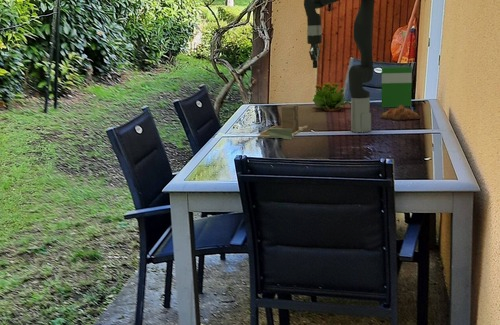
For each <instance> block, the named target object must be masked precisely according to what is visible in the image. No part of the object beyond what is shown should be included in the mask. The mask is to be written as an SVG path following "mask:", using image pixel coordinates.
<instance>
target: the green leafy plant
mask: <svg viewBox="0 0 500 325" xmlns="http://www.w3.org/2000/svg"><path fill="white" fill-rule="evenodd" d="M339 86H340V84H339V83H338V82H332V83H330V82H329V81H328V82H324V83H323V84H322V85H320V84H316V85H315V88H316V89H315V94H314V95H313V99H312V102H313V103H314V104H315V106H316V107H320V108H323V109H324V111H327V112H336V111H340V110H341V107H340V106H345V105H348V104H351V100H345V94H344V93H343V92H344V91H345V86H343V87H341V88H340V89H339ZM338 89H339V91H338ZM337 91H338V92H337Z"/></svg>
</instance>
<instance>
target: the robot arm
mask: <svg viewBox="0 0 500 325" xmlns="http://www.w3.org/2000/svg"><path fill="white" fill-rule="evenodd" d="M339 1H340V0H304V1H303V7H304V12H305V15H306V19H307V20H306V22H307V23H306V24H307V28H306V35H307V38H306V39H307V40H306V41H307V42H306V43H307V44H308V45H310V48H309V51H308V53H309V56H310V60H311V61H312V69H318V68H319V67H318V65H319V64H318V60H319V59H320V54H321V48H320V46H319V44H322V43H323V30H322V29H323V28H322V17H321V14H320V13H318V12H317V9H321V8H323V7H326V6H327V5H330V4H333V3H334V4H335V3H337V2H339ZM374 7H375V0H360V5H359V10H358V12H357V14H356V17H355V20H354V22H353V39H354V40H353V41H354V43H355V45H356V47H357V48H358V50H359V54H360V64H356V65H352V66H351V67H350V68H349V71H348V88H349V90H348V91H349V93H350V97H351V98H350V101H351V102H350V123H351V124H350V127H351V128H350V130H351V132H352V131H353V132H352V133H358V132H362V133H363V132H364V133H368V132H371V131H372V112H371V111H370V110H371V107H370V102H371V101H370V99H371V98H370V97H371V96H370V90H368V91H367V89H365V88H364V86H363V84H365V83H366V84H367V83H370V82H371V81H372V79H373V78H374V64H373V63H374V62H373V61H374V60H373V35H374ZM362 133H361V134H362ZM364 133H363V134H364Z"/></svg>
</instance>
